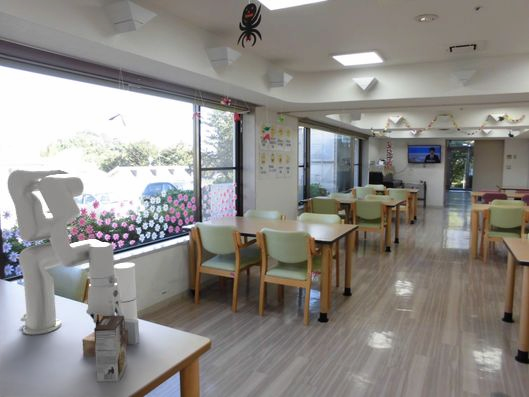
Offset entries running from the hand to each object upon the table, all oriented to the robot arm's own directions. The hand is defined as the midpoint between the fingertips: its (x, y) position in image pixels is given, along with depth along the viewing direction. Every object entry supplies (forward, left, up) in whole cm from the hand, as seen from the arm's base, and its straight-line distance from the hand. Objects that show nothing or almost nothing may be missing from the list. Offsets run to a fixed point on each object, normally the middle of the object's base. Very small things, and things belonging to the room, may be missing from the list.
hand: (105, 333), depth 132 cm
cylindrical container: (-1, +13, -6) cm, 14 cm away
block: (0, 0, -5) cm, 5 cm away
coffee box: (+12, -12, -6) cm, 18 cm away
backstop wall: (0, +6, -5) cm, 8 cm away
